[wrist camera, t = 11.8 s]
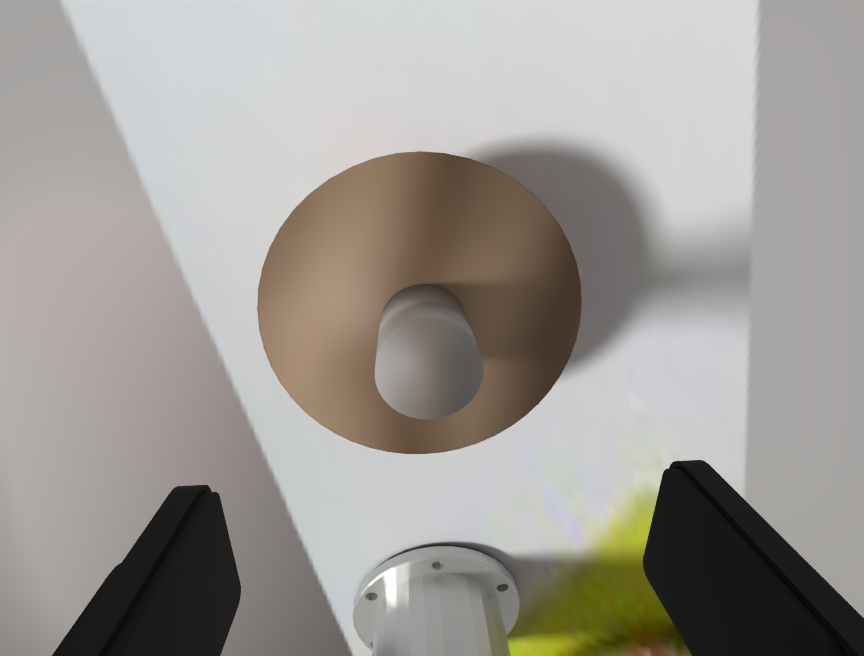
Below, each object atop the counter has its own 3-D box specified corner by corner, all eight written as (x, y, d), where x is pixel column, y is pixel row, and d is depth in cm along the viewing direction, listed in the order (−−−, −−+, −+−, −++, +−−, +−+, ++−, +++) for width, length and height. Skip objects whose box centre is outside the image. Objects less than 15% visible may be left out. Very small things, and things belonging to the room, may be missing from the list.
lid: (593, 151, 16) (669, 155, 12) (554, 434, 21) (596, 514, 17) (239, 151, 15) (171, 156, 11) (287, 446, 21) (255, 533, 16)
